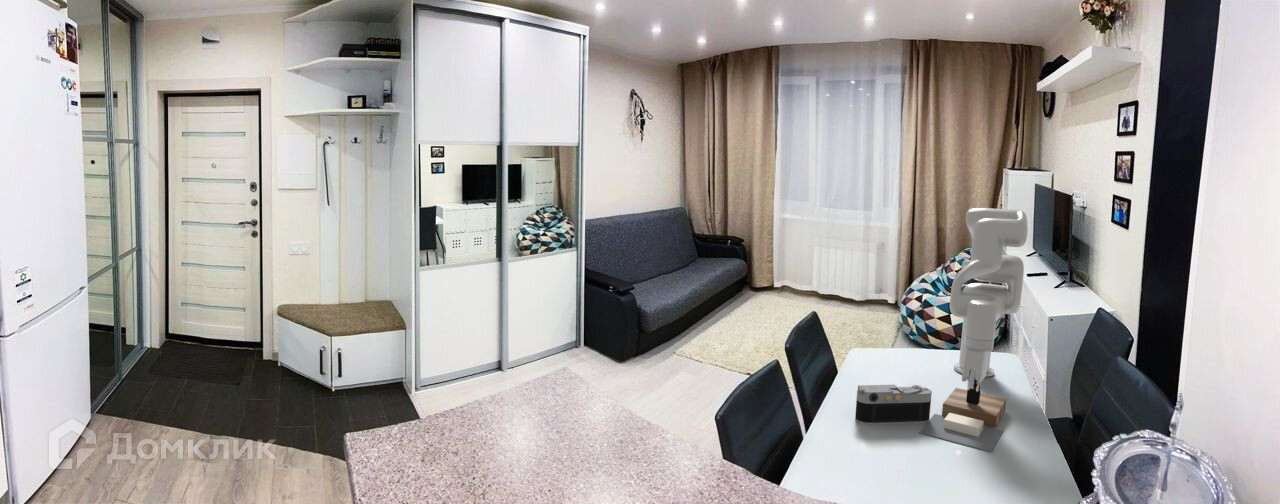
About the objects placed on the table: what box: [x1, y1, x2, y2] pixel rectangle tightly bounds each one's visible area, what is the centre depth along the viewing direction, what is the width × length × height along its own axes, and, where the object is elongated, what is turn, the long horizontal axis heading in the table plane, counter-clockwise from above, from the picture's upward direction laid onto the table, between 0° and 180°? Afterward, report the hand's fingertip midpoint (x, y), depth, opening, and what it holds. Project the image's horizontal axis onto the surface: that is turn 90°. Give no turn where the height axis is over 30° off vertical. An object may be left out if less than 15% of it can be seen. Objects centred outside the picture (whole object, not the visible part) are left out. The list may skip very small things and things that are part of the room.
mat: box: [918, 413, 1004, 453], centre depth 182 cm, size 16×18×1 cm
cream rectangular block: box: [943, 413, 984, 437], centre depth 183 cm, size 6×9×2 cm, turn 52°
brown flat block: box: [941, 387, 1007, 429], centre depth 194 cm, size 16×14×4 cm
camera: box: [854, 384, 933, 426], centre depth 190 cm, size 22×10×10 cm, turn 95°
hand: (972, 402), depth 191 cm, fingers closed
